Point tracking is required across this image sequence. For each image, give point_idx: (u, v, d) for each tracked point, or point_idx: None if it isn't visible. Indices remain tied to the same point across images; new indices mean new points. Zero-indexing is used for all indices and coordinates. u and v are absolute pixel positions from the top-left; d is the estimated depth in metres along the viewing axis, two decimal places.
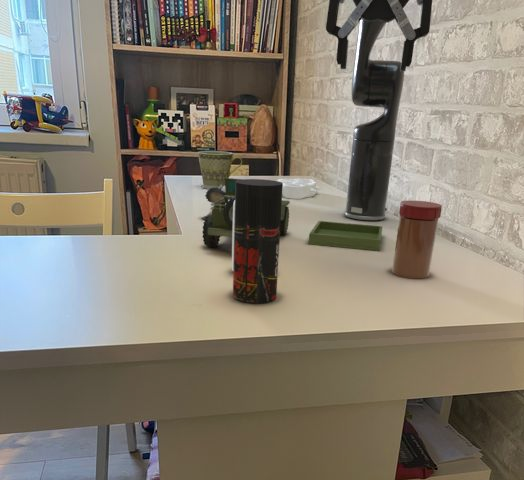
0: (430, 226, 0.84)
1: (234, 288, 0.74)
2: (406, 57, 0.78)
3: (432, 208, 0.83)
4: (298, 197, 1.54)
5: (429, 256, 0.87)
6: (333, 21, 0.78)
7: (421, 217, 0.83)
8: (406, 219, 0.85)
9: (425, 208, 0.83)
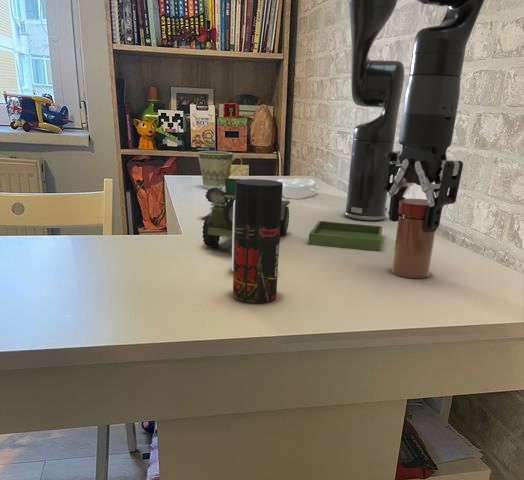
0: None
1: (234, 288, 0.74)
2: None
3: None
4: (298, 197, 1.54)
5: (429, 255, 0.87)
6: None
7: None
8: (405, 219, 0.85)
9: None
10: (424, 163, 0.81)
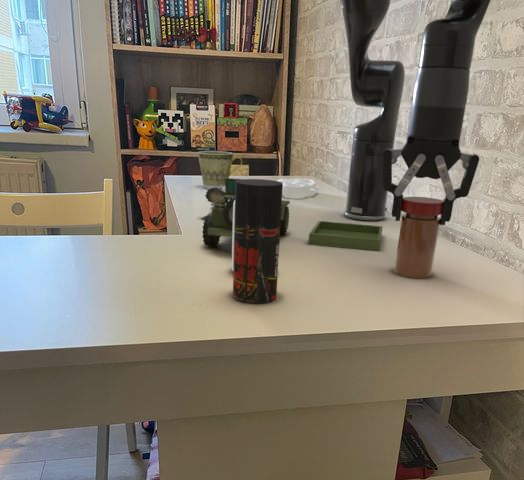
0: (434, 226, 0.85)
1: (234, 288, 0.74)
2: None
3: None
4: (298, 197, 1.54)
5: (433, 255, 0.87)
6: (462, 184, 0.84)
7: None
8: (411, 219, 0.85)
9: (422, 198, 0.88)
10: (444, 157, 0.81)
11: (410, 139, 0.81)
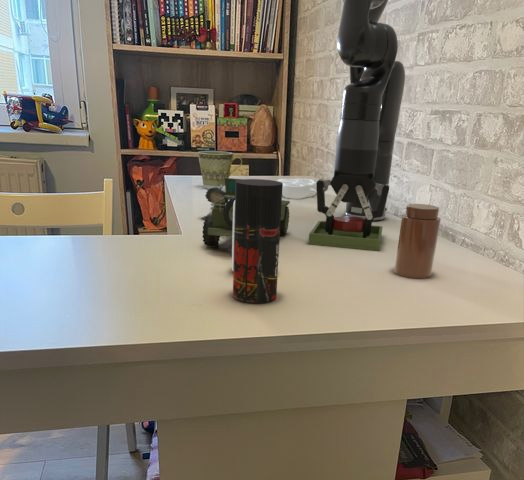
0: (434, 226, 0.85)
1: (234, 288, 0.74)
2: None
3: (344, 216, 1.11)
4: (298, 197, 1.54)
5: (433, 255, 0.87)
6: None
7: None
8: (411, 219, 0.85)
9: (350, 217, 1.11)
10: (362, 186, 1.04)
11: (336, 172, 1.05)
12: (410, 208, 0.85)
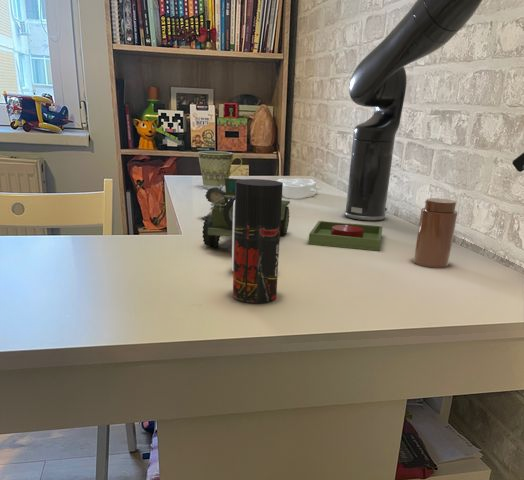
0: (452, 218, 0.91)
1: (234, 288, 0.74)
2: None
3: None
4: (298, 197, 1.54)
5: (450, 246, 0.93)
6: None
7: None
8: (430, 213, 0.91)
9: (348, 226, 1.12)
10: None
11: None
12: (429, 202, 0.91)
